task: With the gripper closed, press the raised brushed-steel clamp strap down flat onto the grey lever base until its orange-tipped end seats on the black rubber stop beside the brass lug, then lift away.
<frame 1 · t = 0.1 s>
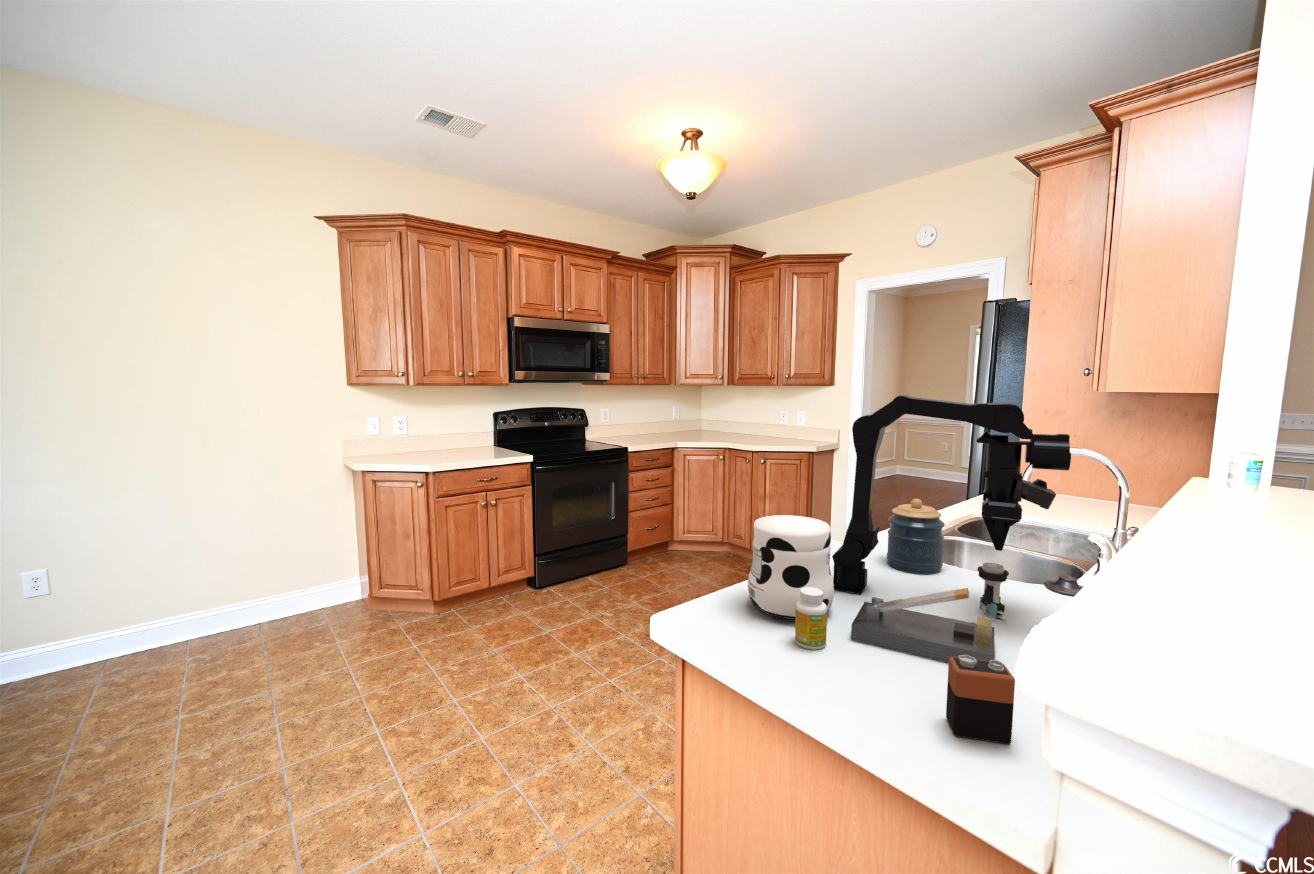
hand: (998, 544, 106), 15 cm above the countertop, tool pointing down, fingers open, 9 cm apart
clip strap: (918, 601, 96), point 7 cm above the countertop, hinge at 22.0°
canister: (913, 567, 137), on the countertop
supplement bottle: (810, 644, 96), on the countertop
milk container: (789, 609, 111), on the countertop
battery: (977, 732, 71), on the countertop
grey lever base: (921, 641, 96), on the countertop
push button: (992, 615, 107), on the countertop
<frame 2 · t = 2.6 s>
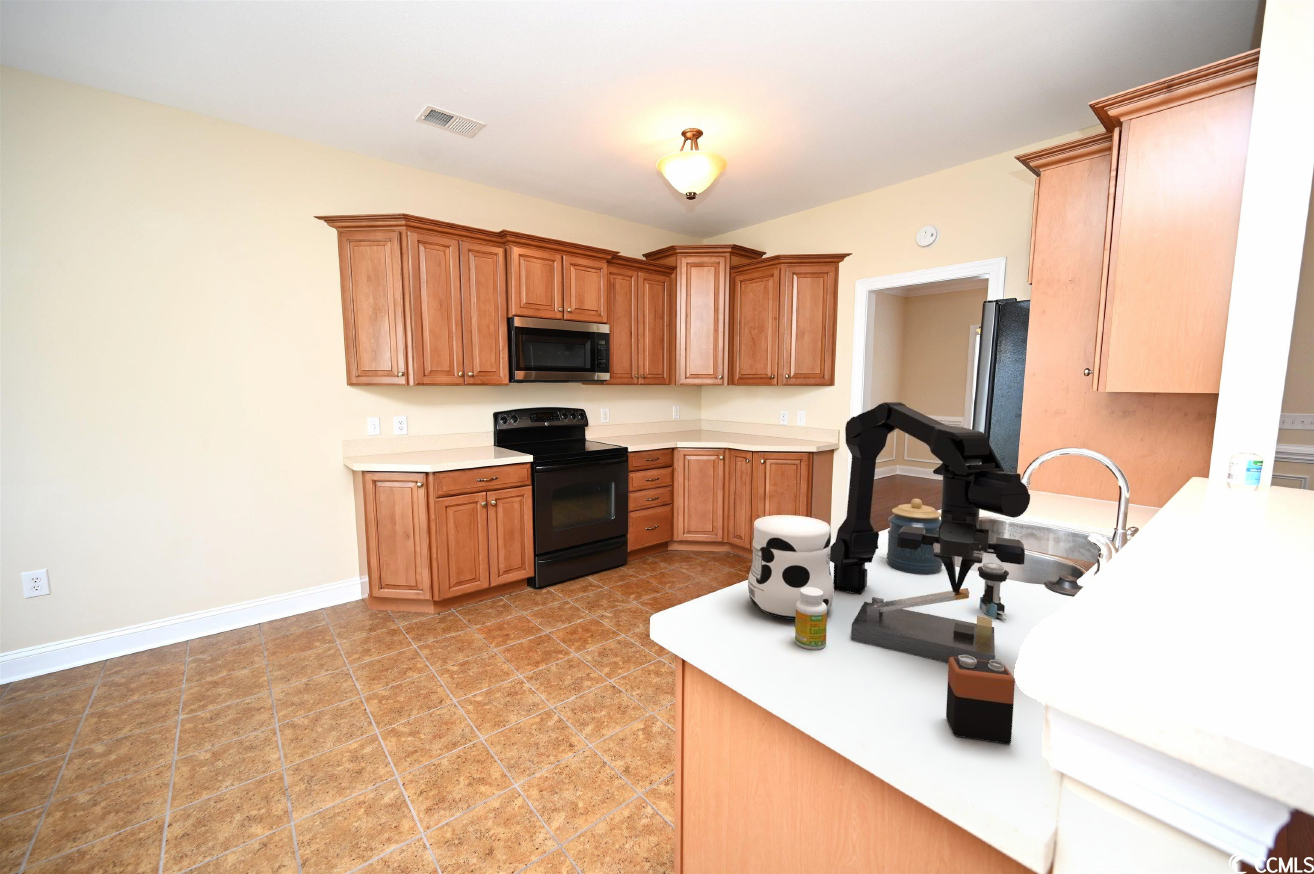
hand: (955, 592, 93), 10 cm above the countertop, tool pointing down, fingers closed
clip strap: (918, 601, 96), point 7 cm above the countertop, hinge at 22.0°, touching gripper
everything else where it was.
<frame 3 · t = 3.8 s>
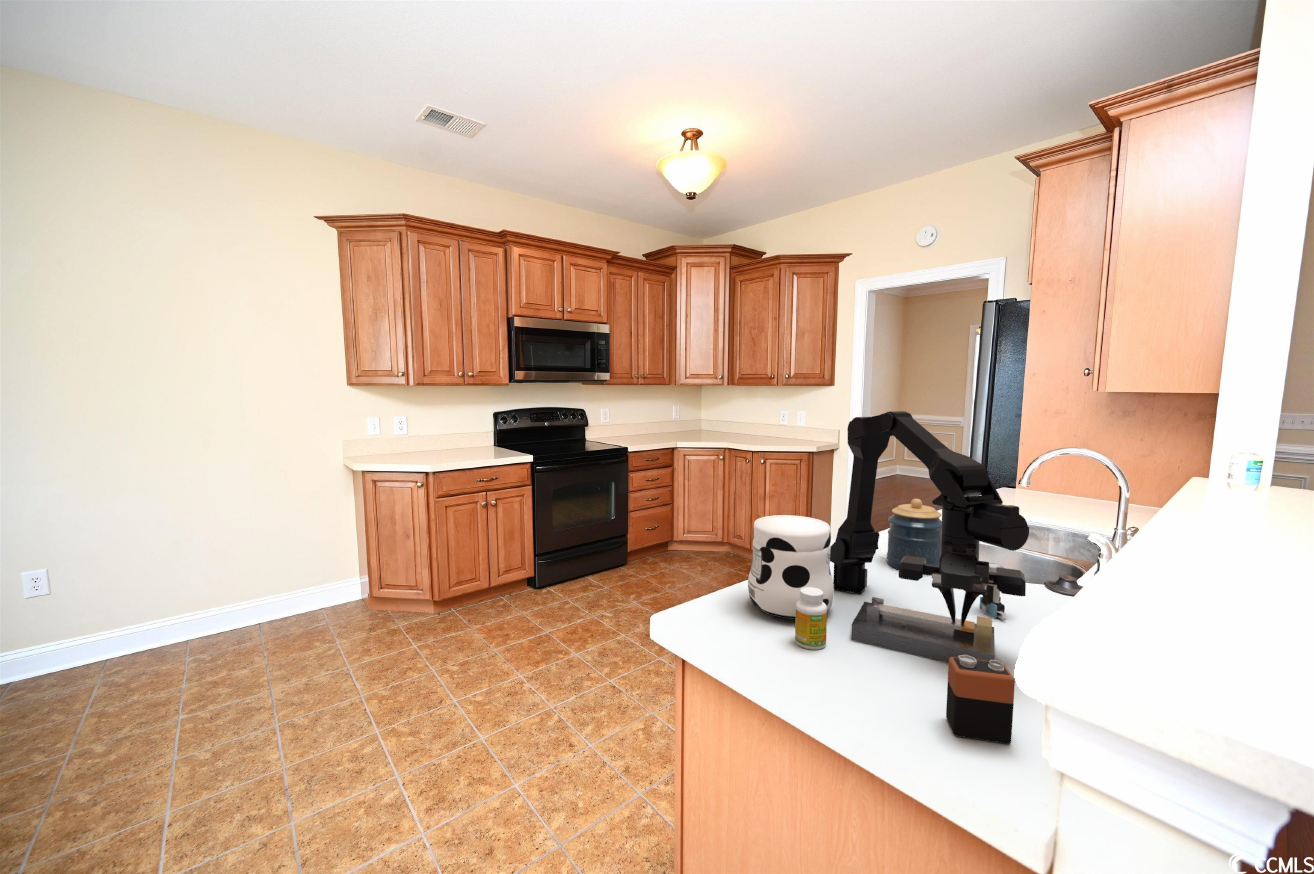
hand: (958, 622, 93), 5 cm above the countertop, tool pointing down, fingers closed, pressing on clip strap
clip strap: (920, 617, 96), point 5 cm above the countertop, hinge at 0.2°, touching gripper
everything else where it was.
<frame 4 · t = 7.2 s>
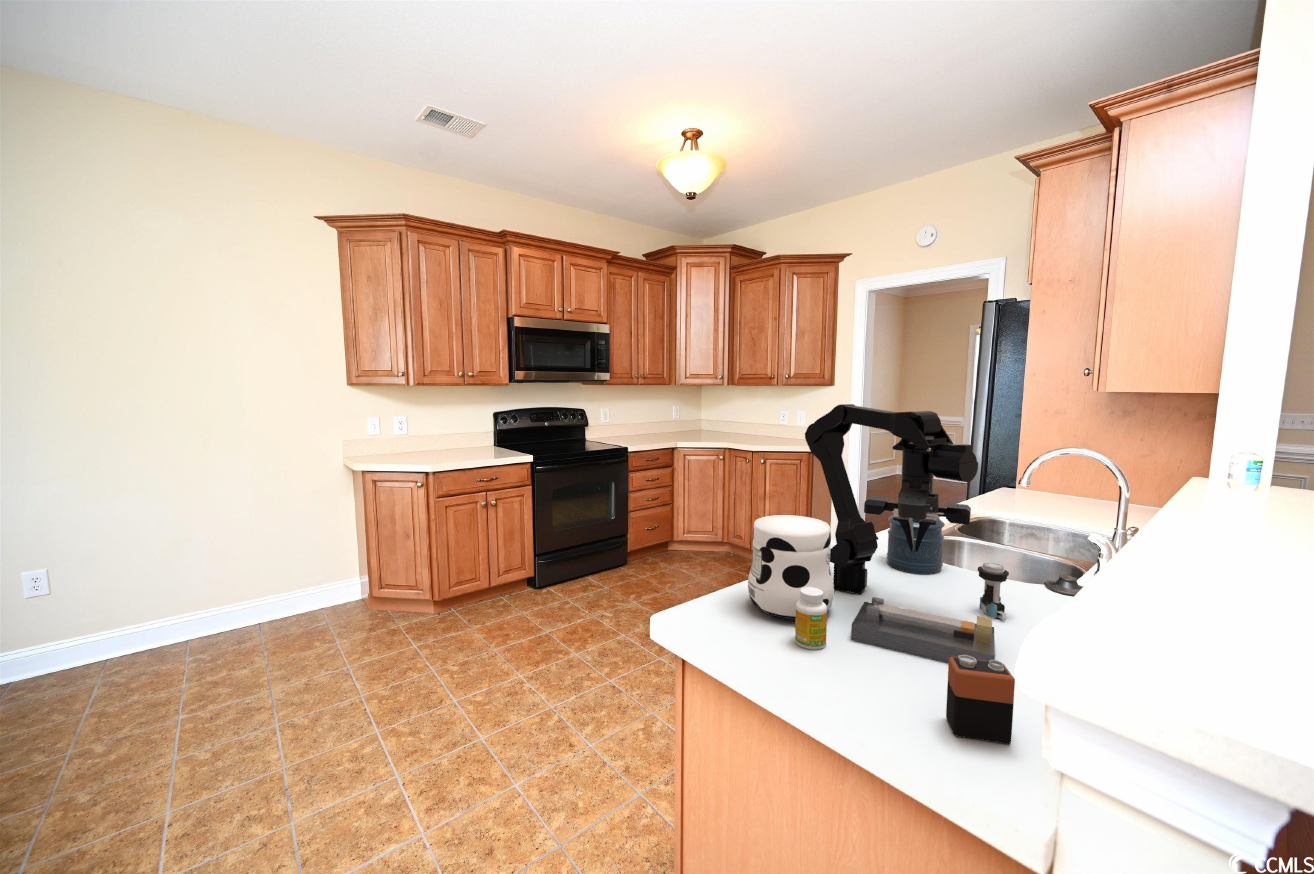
hand: (914, 551, 107), 13 cm above the countertop, tool pointing down, fingers closed
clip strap: (920, 617, 96), point 4 cm above the countertop, hinge at -0.2°, touching grey lever base
everything else where it was.
at the end: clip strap at +0° (first picture: +22°) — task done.
